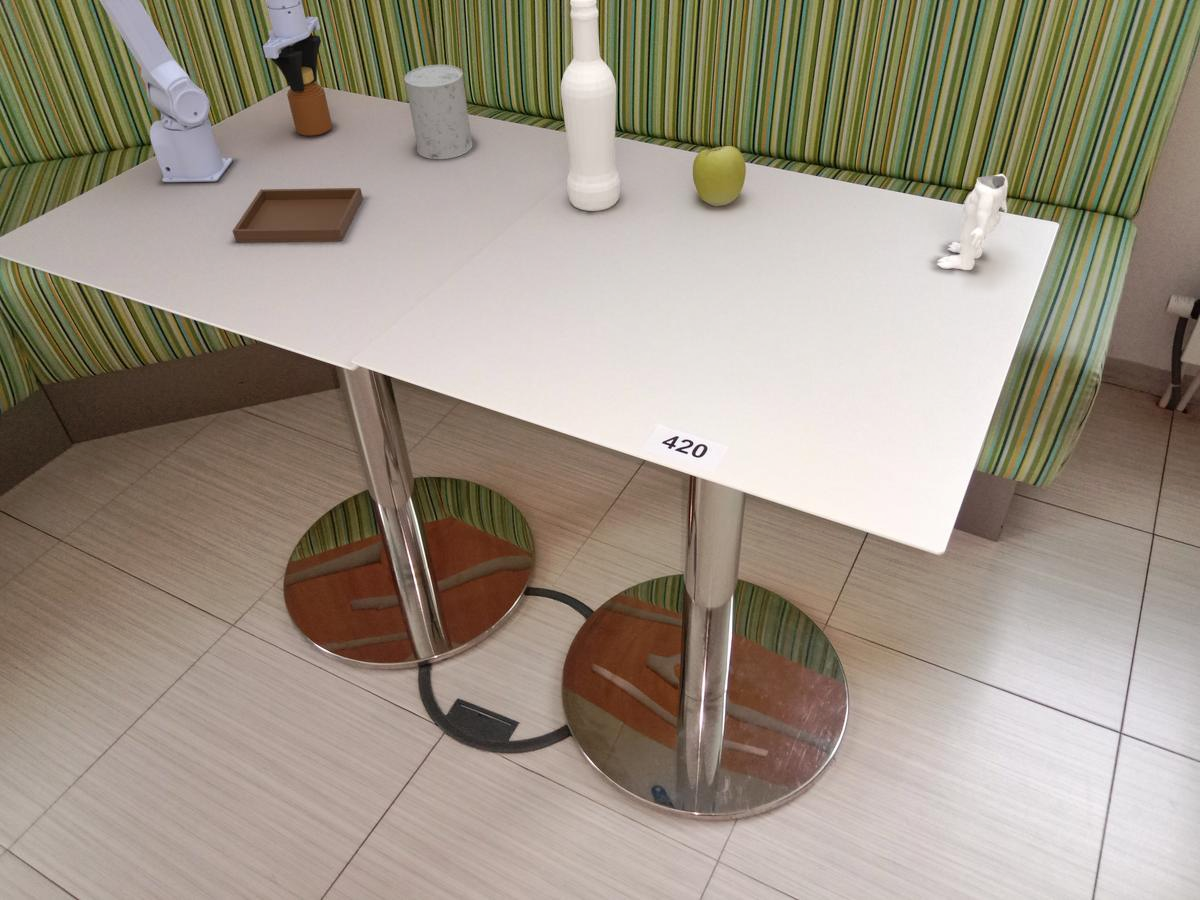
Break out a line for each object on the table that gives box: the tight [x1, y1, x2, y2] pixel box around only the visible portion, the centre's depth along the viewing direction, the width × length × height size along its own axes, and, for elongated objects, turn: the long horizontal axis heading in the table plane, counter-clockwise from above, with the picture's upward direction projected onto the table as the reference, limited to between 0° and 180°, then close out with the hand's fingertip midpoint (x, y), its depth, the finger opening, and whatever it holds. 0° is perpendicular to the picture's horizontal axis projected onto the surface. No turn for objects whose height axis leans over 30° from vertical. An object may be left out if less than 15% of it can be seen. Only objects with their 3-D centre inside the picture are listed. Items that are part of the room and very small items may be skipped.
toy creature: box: [936, 173, 1009, 271], centre depth 128 cm, size 12×6×12 cm, turn 147°
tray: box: [232, 187, 364, 243], centre depth 148 cm, size 16×13×2 cm
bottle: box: [560, 0, 621, 212], centre depth 140 cm, size 8×8×30 cm
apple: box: [692, 141, 747, 207], centre depth 145 cm, size 8×8×10 cm
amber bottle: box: [286, 81, 333, 136], centre depth 171 cm, size 6×6×10 cm
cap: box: [301, 67, 314, 84], centre depth 167 cm, size 4×4×2 cm
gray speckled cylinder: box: [403, 64, 473, 160], centre depth 162 cm, size 10×10×12 cm
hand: (304, 85), depth 169 cm, fingers closed on cap, 4 cm apart
